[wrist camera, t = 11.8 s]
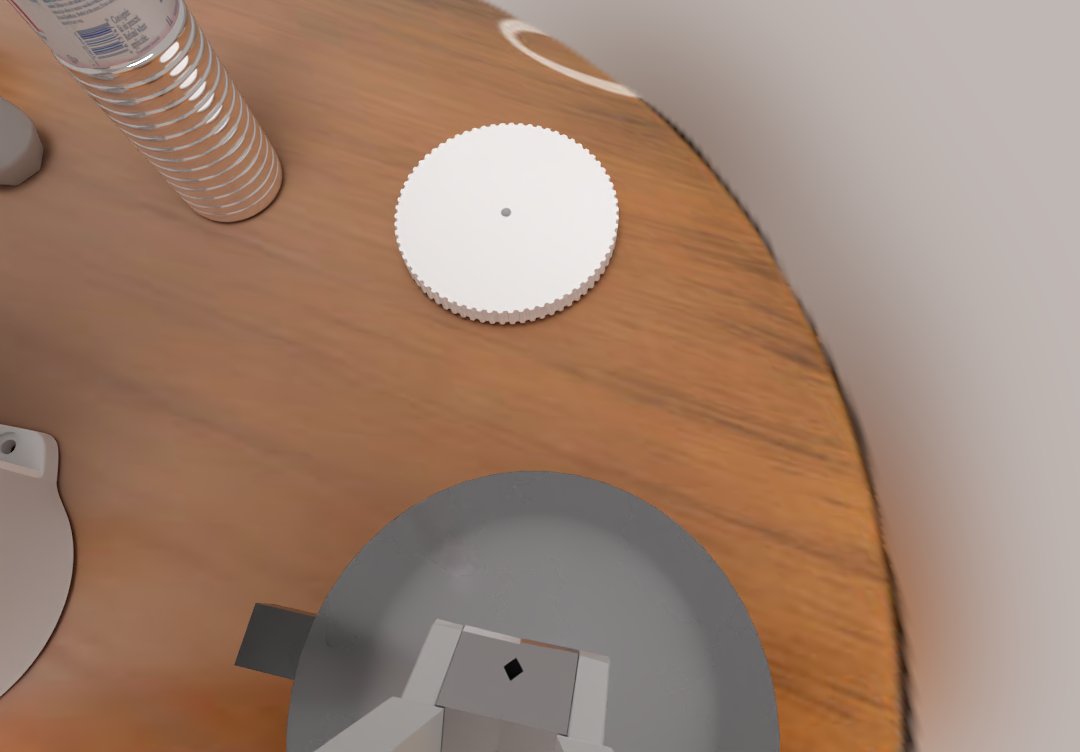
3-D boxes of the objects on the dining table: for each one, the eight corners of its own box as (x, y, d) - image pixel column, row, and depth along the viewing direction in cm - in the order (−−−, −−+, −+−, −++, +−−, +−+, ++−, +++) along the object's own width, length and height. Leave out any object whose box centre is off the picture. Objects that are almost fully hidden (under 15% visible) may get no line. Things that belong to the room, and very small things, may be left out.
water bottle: (197, 145, 46) (-179, -345, 23) (293, 143, 46) (12, -354, 23) (179, 228, 44) (-263, -226, 20) (279, 225, 43) (-50, -236, 20)
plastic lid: (543, 118, 46) (542, 91, 44) (658, 262, 42) (663, 241, 40) (368, 208, 44) (357, 184, 42) (468, 371, 40) (462, 355, 37)
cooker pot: (251, 848, 31) (119, 941, 22) (363, 483, 37) (298, 437, 28) (671, 964, 29) (721, 1123, 20) (717, 558, 35) (772, 534, 26)
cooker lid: (228, 926, 22) (182, 967, 19) (378, 441, 28) (358, 421, 25) (744, 1077, 20) (771, 1145, 17) (787, 524, 26) (812, 513, 23)
